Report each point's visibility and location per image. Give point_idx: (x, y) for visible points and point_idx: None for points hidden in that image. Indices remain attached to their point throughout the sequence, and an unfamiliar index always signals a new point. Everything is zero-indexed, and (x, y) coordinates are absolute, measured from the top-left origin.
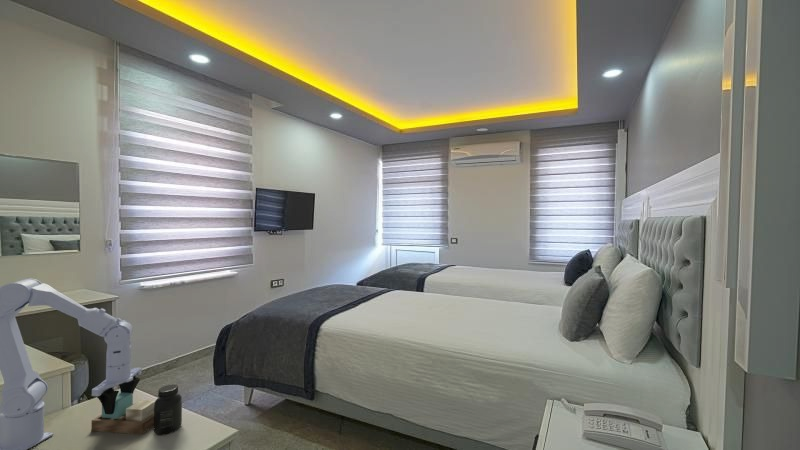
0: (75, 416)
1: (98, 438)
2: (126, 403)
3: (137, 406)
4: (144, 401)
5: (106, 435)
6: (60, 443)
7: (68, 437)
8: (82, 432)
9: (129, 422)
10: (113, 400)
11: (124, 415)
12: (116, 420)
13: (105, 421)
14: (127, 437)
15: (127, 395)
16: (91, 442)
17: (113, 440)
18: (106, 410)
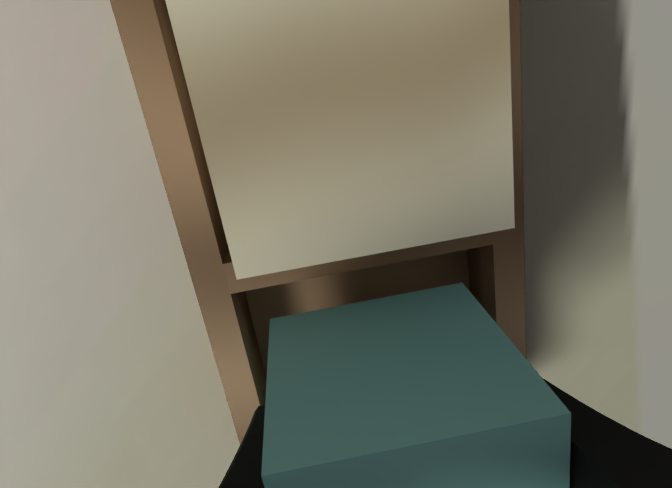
0: None
1: (569, 251)
2: (374, 371)
3: (420, 115)
4: (252, 161)
5: (526, 233)
6: (640, 425)
7: None
8: None
9: (515, 65)
10: (658, 464)
11: None
12: (502, 254)
13: (525, 342)
14: (530, 7)
15: (358, 473)
16: (621, 248)
17: (584, 97)
18: None
